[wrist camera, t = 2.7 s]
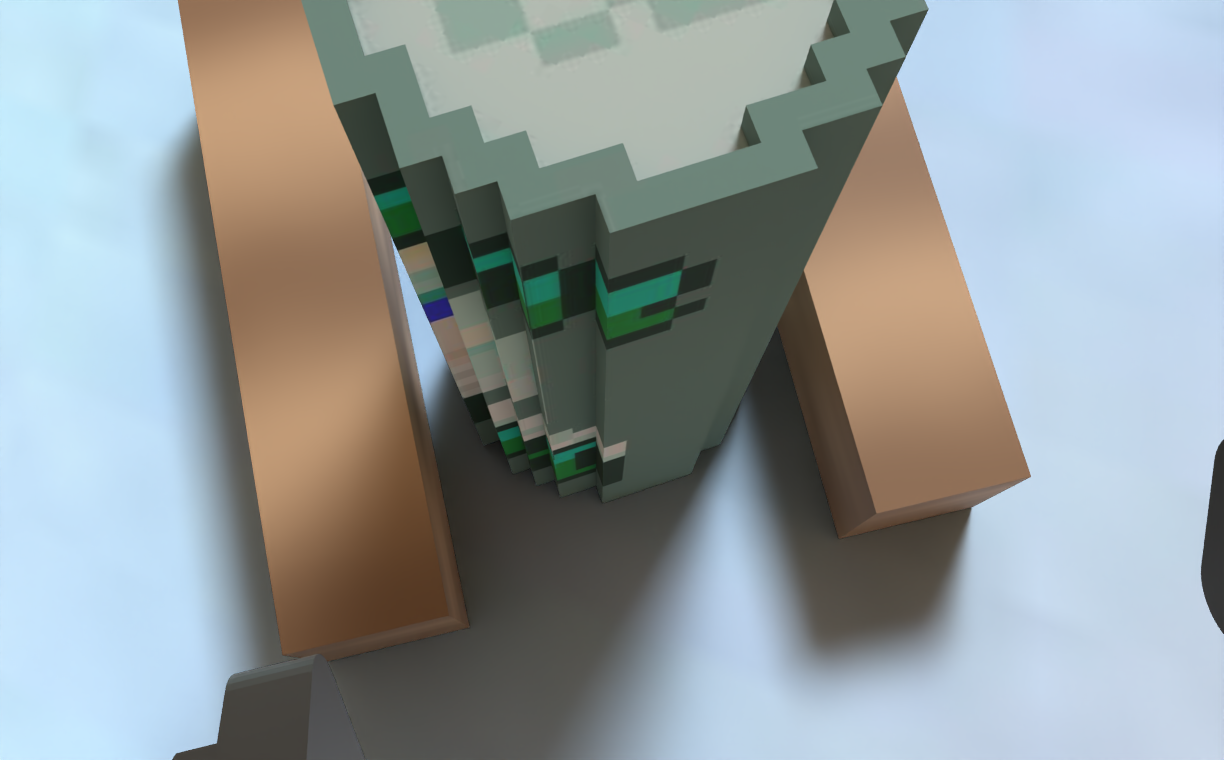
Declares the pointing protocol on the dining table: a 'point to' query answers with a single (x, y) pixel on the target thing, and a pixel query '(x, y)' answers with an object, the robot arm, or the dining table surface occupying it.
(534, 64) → the can
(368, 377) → the wooden bar pair
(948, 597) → the dining table surface
